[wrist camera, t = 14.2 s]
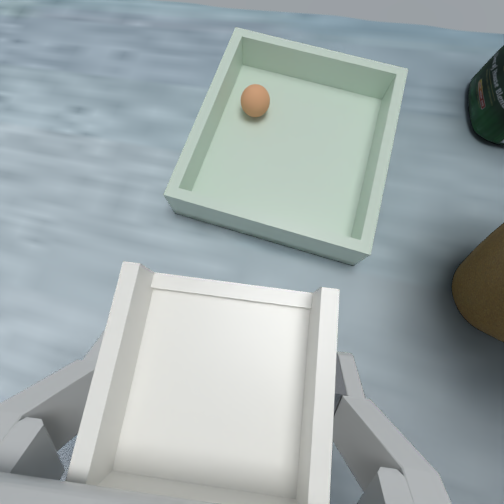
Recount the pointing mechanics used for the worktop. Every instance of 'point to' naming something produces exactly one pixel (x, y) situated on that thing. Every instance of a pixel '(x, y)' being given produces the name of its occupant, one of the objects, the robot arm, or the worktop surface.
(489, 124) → the coffee jar
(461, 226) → the worktop surface
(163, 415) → the cup post
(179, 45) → the worktop surface
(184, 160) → the tray
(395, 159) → the worktop surface
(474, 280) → the plant pot
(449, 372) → the worktop surface
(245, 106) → the ball
